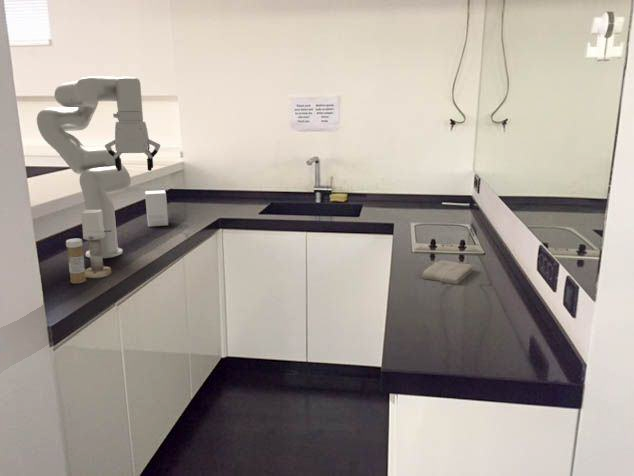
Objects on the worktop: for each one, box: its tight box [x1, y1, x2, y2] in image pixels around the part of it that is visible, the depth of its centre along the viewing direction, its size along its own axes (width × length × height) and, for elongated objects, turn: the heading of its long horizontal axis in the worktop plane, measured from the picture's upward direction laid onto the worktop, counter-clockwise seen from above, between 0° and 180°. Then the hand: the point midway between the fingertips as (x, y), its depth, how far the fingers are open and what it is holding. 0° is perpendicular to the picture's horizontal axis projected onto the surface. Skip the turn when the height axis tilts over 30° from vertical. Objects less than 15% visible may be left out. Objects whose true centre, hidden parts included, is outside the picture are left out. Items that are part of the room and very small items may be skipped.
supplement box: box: [144, 189, 169, 227], centre depth 243 cm, size 9×9×15 cm
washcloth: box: [421, 259, 474, 285], centre depth 175 cm, size 12×18×3 cm, turn 148°
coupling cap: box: [80, 209, 112, 241], centre depth 169 cm, size 9×8×8 cm
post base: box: [85, 239, 112, 279], centre depth 172 cm, size 8×8×12 cm
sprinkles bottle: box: [65, 237, 87, 284], centre depth 164 cm, size 5×5×13 cm
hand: (134, 170), depth 176 cm, fingers open, 9 cm apart
